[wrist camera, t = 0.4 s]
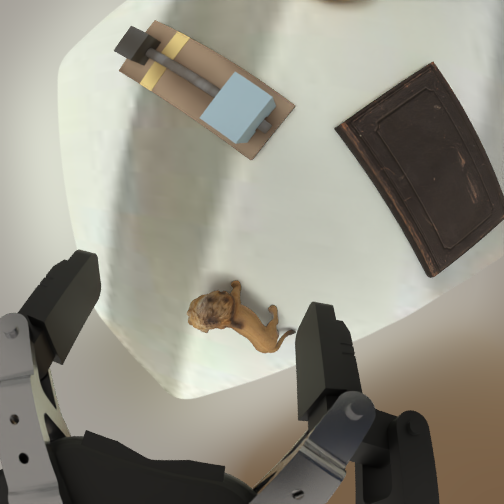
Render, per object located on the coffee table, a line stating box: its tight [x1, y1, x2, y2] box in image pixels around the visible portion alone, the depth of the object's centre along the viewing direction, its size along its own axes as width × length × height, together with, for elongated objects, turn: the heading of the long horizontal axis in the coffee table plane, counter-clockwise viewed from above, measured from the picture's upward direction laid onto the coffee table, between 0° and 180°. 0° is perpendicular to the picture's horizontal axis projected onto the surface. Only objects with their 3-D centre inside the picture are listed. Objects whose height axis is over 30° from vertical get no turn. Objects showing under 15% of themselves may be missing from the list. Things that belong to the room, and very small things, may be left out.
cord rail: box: [114, 20, 295, 160], centre depth 29 cm, size 8×21×5 cm, turn 53°
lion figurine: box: [187, 281, 296, 353], centre depth 37 cm, size 15×5×9 cm, turn 61°
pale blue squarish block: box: [200, 72, 276, 144], centre depth 27 cm, size 5×4×7 cm
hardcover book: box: [335, 62, 504, 278], centre depth 31 cm, size 16×23×2 cm
